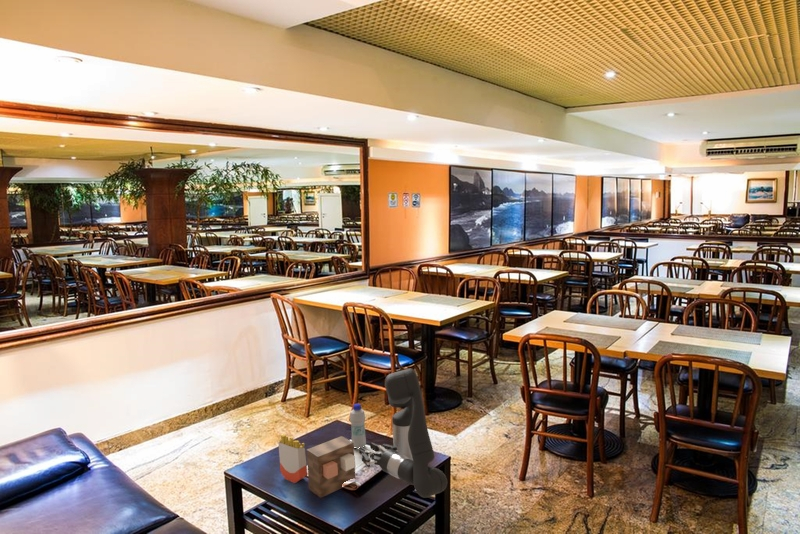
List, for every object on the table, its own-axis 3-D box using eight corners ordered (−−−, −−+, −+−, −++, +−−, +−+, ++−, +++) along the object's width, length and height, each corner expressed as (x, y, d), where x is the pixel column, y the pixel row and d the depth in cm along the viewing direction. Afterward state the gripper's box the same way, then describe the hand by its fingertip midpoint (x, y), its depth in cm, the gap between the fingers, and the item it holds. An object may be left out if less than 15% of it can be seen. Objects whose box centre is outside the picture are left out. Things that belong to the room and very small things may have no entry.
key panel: (343, 474, 211) (341, 436, 209) (355, 481, 205) (353, 442, 203) (309, 489, 200) (306, 449, 198) (320, 497, 194) (317, 456, 192)
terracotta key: (331, 470, 198) (331, 459, 198) (337, 474, 195) (337, 463, 195) (321, 475, 195) (321, 464, 195) (327, 479, 192) (327, 467, 192)
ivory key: (349, 463, 203) (348, 452, 203) (355, 467, 200) (354, 456, 200) (339, 467, 201) (339, 456, 200) (345, 471, 198) (345, 460, 197)
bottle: (369, 447, 233) (367, 403, 230) (357, 452, 228) (355, 408, 226) (360, 442, 238) (358, 399, 235) (348, 447, 233) (346, 404, 231)
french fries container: (289, 472, 214) (286, 430, 211) (308, 479, 207) (305, 436, 205) (280, 477, 210) (277, 434, 208) (299, 485, 204) (296, 441, 201)
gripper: (411, 446, 181) (380, 431, 194) (379, 461, 172) (348, 444, 185) (412, 467, 182) (381, 450, 195) (380, 482, 173) (349, 464, 186)
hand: (365, 447), depth 190 cm, fingers open, 4 cm apart
